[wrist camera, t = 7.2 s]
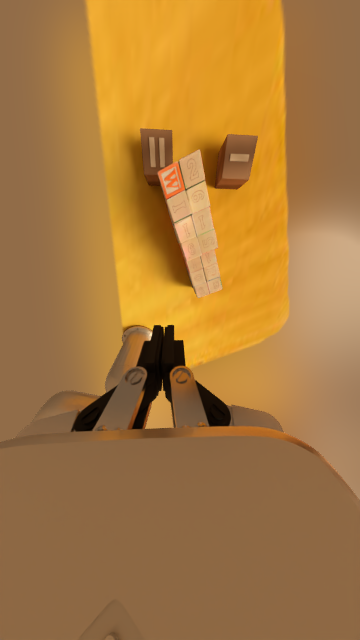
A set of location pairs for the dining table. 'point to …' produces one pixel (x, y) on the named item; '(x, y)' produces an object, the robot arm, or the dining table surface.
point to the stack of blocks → (192, 221)
